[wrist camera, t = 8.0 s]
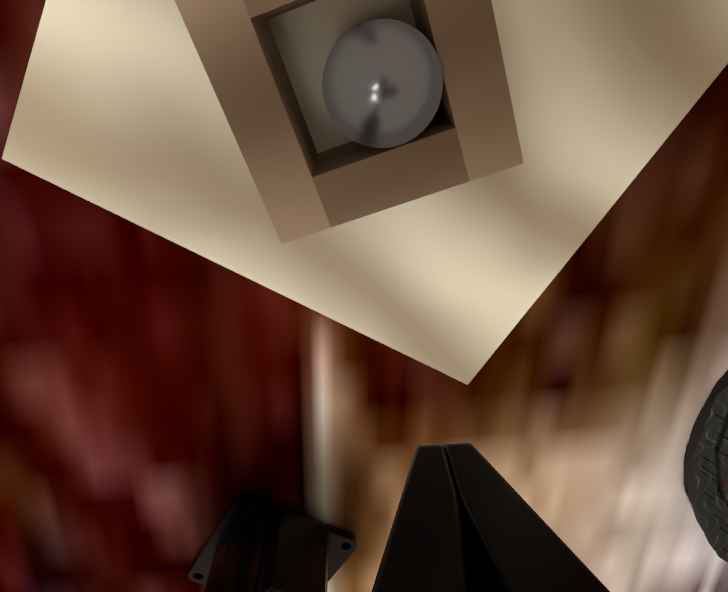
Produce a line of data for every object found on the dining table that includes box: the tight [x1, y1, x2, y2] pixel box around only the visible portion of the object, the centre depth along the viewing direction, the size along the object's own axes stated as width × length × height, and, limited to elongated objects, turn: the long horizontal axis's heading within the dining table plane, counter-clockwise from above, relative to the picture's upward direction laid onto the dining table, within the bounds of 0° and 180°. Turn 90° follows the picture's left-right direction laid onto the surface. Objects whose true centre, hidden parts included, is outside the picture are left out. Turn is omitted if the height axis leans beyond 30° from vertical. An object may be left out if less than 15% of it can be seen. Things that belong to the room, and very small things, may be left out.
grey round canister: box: [322, 19, 443, 148], centre depth 15 cm, size 3×3×4 cm
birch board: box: [2, 0, 728, 385], centre depth 17 cm, size 16×18×1 cm
